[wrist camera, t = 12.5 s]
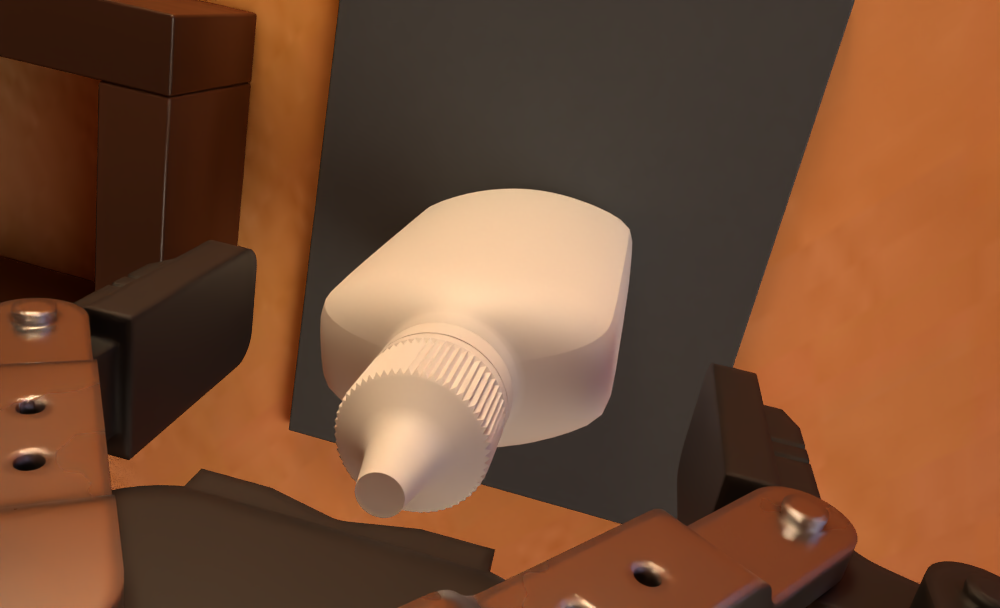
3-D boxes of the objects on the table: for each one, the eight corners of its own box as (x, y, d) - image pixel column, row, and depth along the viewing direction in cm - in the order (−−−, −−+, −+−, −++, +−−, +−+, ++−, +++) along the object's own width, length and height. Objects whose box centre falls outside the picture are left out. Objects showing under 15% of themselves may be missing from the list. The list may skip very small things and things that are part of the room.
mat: (357, -103, 20) (351, -105, 20) (852, -1, 19) (855, -1, 19) (293, 424, 26) (288, 430, 26) (675, 531, 25) (675, 539, 24)
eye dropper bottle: (570, 368, 23) (476, 704, 12) (398, 258, 23) (143, 495, 12) (661, 241, 21) (652, 494, 10) (476, 122, 21) (265, 249, 10)
